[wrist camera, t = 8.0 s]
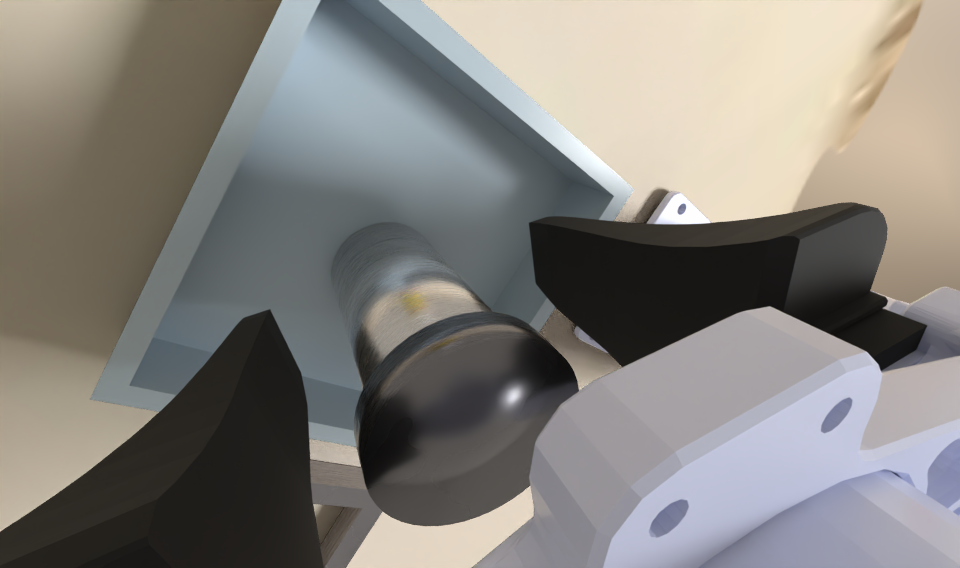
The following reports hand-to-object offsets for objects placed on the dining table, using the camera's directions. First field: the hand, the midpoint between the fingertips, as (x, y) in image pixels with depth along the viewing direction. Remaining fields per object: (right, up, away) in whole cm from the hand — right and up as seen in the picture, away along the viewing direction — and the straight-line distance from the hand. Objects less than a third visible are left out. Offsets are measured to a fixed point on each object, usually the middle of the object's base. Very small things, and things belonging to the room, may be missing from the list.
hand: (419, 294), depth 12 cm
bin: (-2, +2, +3) cm, 4 cm away
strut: (-2, +1, +3) cm, 4 cm away
